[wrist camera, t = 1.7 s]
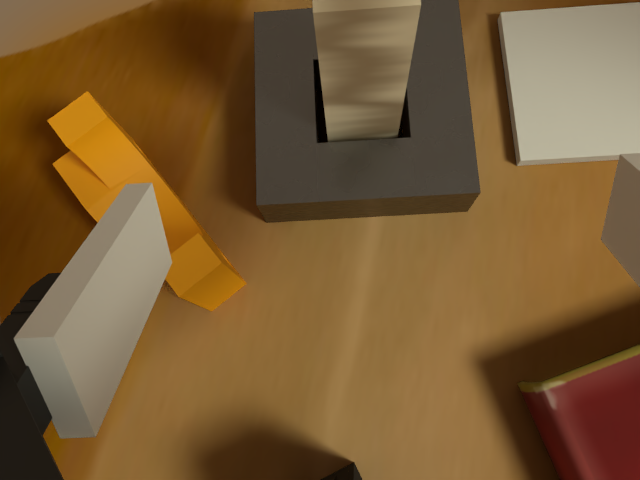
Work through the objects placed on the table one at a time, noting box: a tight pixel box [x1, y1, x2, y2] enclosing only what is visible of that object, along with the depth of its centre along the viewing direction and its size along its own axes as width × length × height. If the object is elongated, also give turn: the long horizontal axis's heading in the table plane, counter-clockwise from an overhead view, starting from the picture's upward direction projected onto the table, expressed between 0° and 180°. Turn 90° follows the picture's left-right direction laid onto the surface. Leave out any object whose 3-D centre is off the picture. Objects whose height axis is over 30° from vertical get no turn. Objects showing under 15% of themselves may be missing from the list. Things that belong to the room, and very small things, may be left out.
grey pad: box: [498, 2, 640, 166], centre depth 34 cm, size 10×10×1 cm
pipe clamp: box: [47, 91, 247, 311], centre depth 31 cm, size 12×4×6 cm, turn 39°
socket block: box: [254, 0, 480, 223], centre depth 33 cm, size 12×12×4 cm
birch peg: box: [312, 0, 421, 143], centre depth 28 cm, size 4×4×14 cm
